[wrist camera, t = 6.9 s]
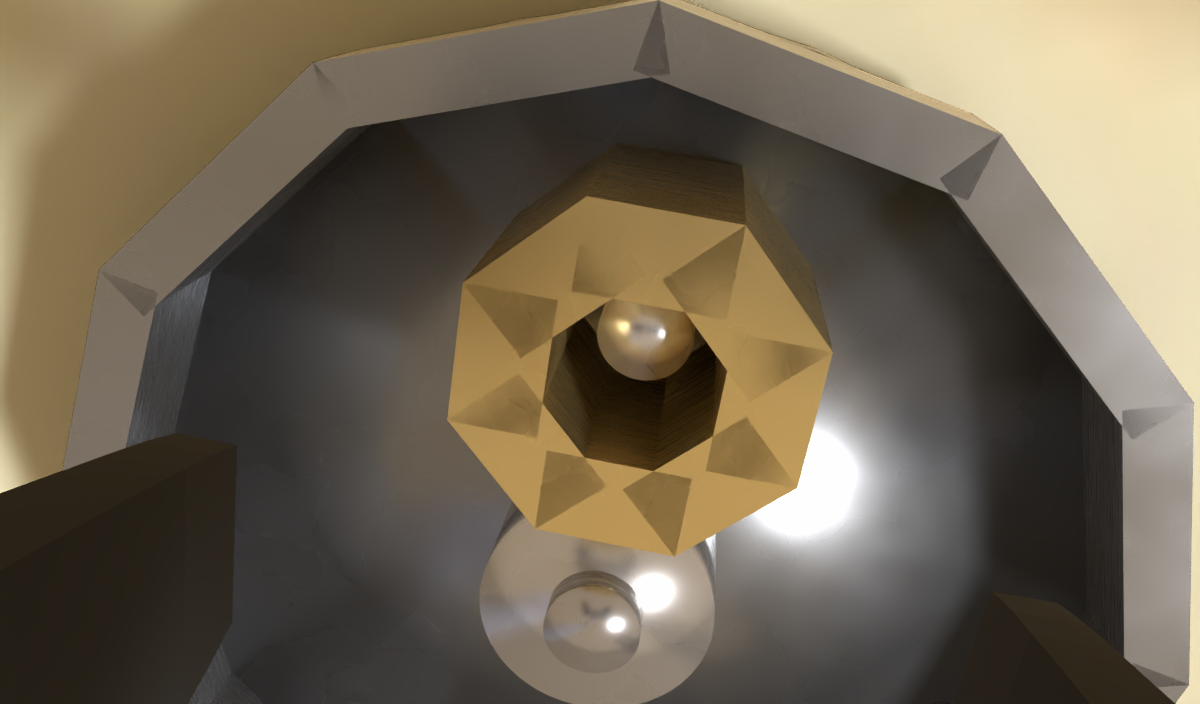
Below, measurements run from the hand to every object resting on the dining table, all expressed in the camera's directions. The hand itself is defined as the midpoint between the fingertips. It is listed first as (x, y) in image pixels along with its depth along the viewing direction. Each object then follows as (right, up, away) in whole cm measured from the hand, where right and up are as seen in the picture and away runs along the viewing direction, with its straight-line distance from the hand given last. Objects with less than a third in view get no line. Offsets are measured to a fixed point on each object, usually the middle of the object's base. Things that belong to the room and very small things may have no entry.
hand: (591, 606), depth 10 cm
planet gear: (+1, +3, +8) cm, 9 cm away
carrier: (0, -1, +11) cm, 11 cm away
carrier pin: (+1, +4, +9) cm, 10 cm away
